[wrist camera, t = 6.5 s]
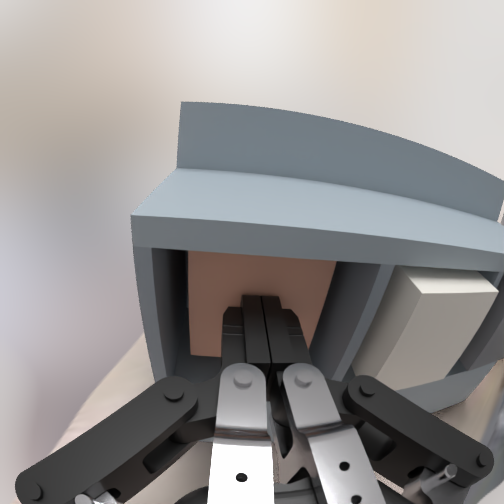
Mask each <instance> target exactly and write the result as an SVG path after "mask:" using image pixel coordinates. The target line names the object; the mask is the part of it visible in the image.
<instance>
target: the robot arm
mask: <svg viewBox="0 0 504 504" xmlns="http://www.w3.org/2000/svg"><path fill="white" fill-rule="evenodd" d="M501 225H503V226H504V214H503V218H502V221H501ZM269 401H270V404H271V412H270V415H269V421H270V426H271V430H272V435H273V439H274V443H275V448H276V452H277V456H278V462H279V466H278V477H279V483H273V469H272V443H271V437H270V435H268V432H267V408H266V402H269ZM211 437H214V441H213V451H212V462H211V473H210V485H209V486H206V487H203V488H199V489H197V490H195V491H192V492H190V493H188V494H187V495H185V496H183V497H182V498H181V499H179V500H178V501H177V502H176V503H175V504H463V502H464V500H465V498H466V496H467V494H468V491H469V489H470V487H471V485H473V484H474V483H476V482H478V481H479V480H481V479H482V478H484V477H486V476H487V475H488V474H489V473H490V472H491V471H492V468H493V465H494V458H493V454H492V452H491V451H490V449H489V448H488V447H486V446H484V445H483V444H481V443H479V442H477V441H476V440H474V439H472V438H471V437H469V436H467V435H465V434H464V433H462V432H460V431H459V430H457V429H455V428H454V427H452V426H450V425H449V424H447V423H445V422H444V421H442V420H440V419H439V418H437V417H435V416H434V415H432V414H431V413H429V412H427V411H426V410H424V409H422V408H421V407H419V406H418V405H416V404H415V403H413V402H411V401H410V400H408V399H407V398H405V397H403V396H402V395H400V394H399V393H397V392H396V391H394V390H393V389H391V388H389V387H388V386H386V385H385V384H383V383H382V382H380V381H379V380H377V379H376V378H374V377H371V376H368V375H359V376H356V377H354V378H353V379H351V381H350V382H349V383H346V382H341V381H335V380H331V379H328V378H326V377H324V376H323V374H322V373H321V371H320V370H319V369H318V368H316V367H315V366H313V364H312V361H311V358H310V354H309V351H308V347H307V344H306V341H305V337H304V336H303V331H302V328H301V324H300V321H299V318H298V316H297V315H296V314H295V313H294V312H293V311H292V310H291V309H282V306H281V302H280V298H279V296H259V295H241V302H240V307H229V306H228V308H227V309H226V311H225V312H224V314H223V321H222V337H221V370H220V372H219V373H218V374H217V375H216V376H215V377H214V378H212V379H210V380H208V381H204V382H200V383H195V384H193V383H191V382H190V381H189V380H187V379H185V378H183V377H178V376H169V377H165V378H162V379H160V380H159V381H157V382H156V383H154V384H153V385H152V386H150V387H149V388H148V389H146V390H145V391H144V392H142V393H141V394H139V395H138V396H137V397H135V398H134V399H132V400H131V401H130V402H128V403H127V404H125V405H124V406H123V407H121V408H120V409H118V410H117V411H116V412H114V413H113V414H111V415H110V416H108V417H107V418H106V419H104V420H103V421H101V422H100V423H98V424H97V425H95V426H94V427H92V428H91V429H89V430H88V431H86V432H85V433H83V434H82V435H80V436H79V437H77V438H76V439H74V440H73V441H71V442H70V443H68V444H67V445H65V446H64V447H62V448H60V449H59V450H57V451H56V452H54V453H52V454H51V455H49V456H48V457H46V458H45V459H43V460H41V461H40V462H38V463H36V464H35V465H33V466H31V467H30V468H28V469H26V470H25V471H23V472H21V473H20V474H19V475H18V477H17V479H16V482H15V490H16V494H17V497H18V499H19V500H20V502H21V503H22V504H124V503H125V502H127V501H128V500H129V499H131V498H132V497H133V496H135V495H136V494H137V493H138V492H140V491H141V490H142V489H144V488H145V487H146V486H147V485H149V484H150V483H151V482H152V481H153V480H155V479H156V478H157V477H158V476H159V475H161V474H162V473H163V472H164V471H165V470H167V469H168V468H169V467H170V466H171V465H172V464H174V463H175V462H176V461H177V460H178V459H179V458H180V457H181V456H183V455H184V454H185V453H186V452H187V451H188V450H189V449H190V448H191V447H193V446H194V445H195V444H196V443H197V442H198V441H199V440H203V439H207V438H211ZM373 470H374V471H375V472H377V473H379V474H380V475H382V476H383V477H385V478H386V479H388V480H390V481H391V482H393V483H395V484H396V485H398V486H400V487H401V488H403V489H404V492H403V493H402V495H400V494H399V493H397V492H396V491H394V490H393V489H391V488H390V487H388V486H387V485H385V484H384V483H382V482H381V481H379V480H377V479H376V477H375V474H374V472H373Z"/></svg>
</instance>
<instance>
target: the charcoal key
mask: <svg viewBox="0 0 504 504" xmlns="http://www.w3.org/2000/svg"><path fill="white" fill-rule="evenodd" d="M497 290H498V291H499V292H498V294H497V296H496V298H495V300H494V302H493V304H492V306H491V308H490V310H489V311H488V313H487V315H486V317H485V318H484V320H483V322H482V324H481V325H480V327H479V328H478V330H477V332H476V333H475V335H474V337H473V338H472V340H471V341H470V343H469V344H468V346H467V347H466V349H465V350H464V352H463V353H462V355H461V356H460V357H459V360H460V361H461V363H462V364H463V366H464V367H465V369H466V371H470V370H473V369H476V368H479V367H482V366H485V365H487V364H490V363H493V362H495V361H498V360H500V359H503V358H504V274H503V276H502V278H501V280H500V283H499V285H498V287H497Z"/></svg>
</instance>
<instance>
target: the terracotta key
mask: <svg viewBox="0 0 504 504" xmlns="http://www.w3.org/2000/svg"><path fill="white" fill-rule="evenodd" d="M336 262H337V261H330V260H316V259H301V258H287V257H273V256H259V255H245V254H231V253H217V252H204V251H190V250H188V297H189V330H190V351H191V355H198V356H211V357H221V337H222V321H223V314H224V312H225V311H226V309H227V308H228V306H229V307H240V302H241V295H259V296H279V298H280V302H281V306H282V309H291V310H292V311H293V312H294V313H295V314H296V315H297V316H298V318H299V321H300V324H301V328H302V331H303V336H304V337H305V341H306V344H307V347H308V349H309V346H310V344H311V341H312V338H313V335H314V332H315V329H316V326H317V323H318V321H319V318H320V314H321V311H322V308H323V305H324V302H325V299H326V296H327V293H328V289H329V286H330V283H331V279H332V276H333V273H334V269H335V266H336Z"/></svg>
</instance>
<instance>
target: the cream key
mask: <svg viewBox="0 0 504 504" xmlns="http://www.w3.org/2000/svg"><path fill="white" fill-rule="evenodd" d="M498 292H499V291H498V290H497V289H496V288H495V287H494V286H493V285H492V284H491V283H490V282H489V281H488V280H487V279H485V278H484V277H483V276H482V275H481V274H480V273H479V272H478V271H477V270H464V269H448V268H433V267H418V266H403V265H395V267H394V269H393V272H392V275H391V277H390V280H389V282H388V285H387V287H386V290H385V292H384V295H383V297H382V300H381V302H380V304H379V307H378V309H377V311H376V313H375V316H374V318H373V320H372V322H371V325H370V327H369V329H368V331H367V333H366V335H365V337H364V339H363V341H362V343H361V345H360V347H359V349H358V351H357V353H356V355H355V357H354V359H353V361H352V363H351V366H352V368H353V371H354V373H355V376H359V375H368V376H371V377H374V378H376V379H377V380H379V381H380V382H382V383H383V384H385V385H386V386H388V387H389V388H391V389H393V390H394V391H396V390H400V389H405V388H410V387H414V386H418V385H422V384H426V383H430V382H434V381H438V380H441V379H444V378H445V376H446V375H447V374H448V372H449V371H450V370H451V368H452V367H453V366H454V364H455V363H456V362H457V360H458V359H459V357H460V356H461V355H462V353H463V352H464V350H465V349H466V347H467V346H468V344H469V343H470V341H471V340H472V338H473V337H474V335H475V333H476V332H477V330H478V328H479V327H480V325H481V324H482V322H483V320H484V318H485V317H486V315H487V313H488V311H489V310H490V308H491V306H492V304H493V302H494V300H495V298H496V296H497V294H498Z"/></svg>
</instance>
